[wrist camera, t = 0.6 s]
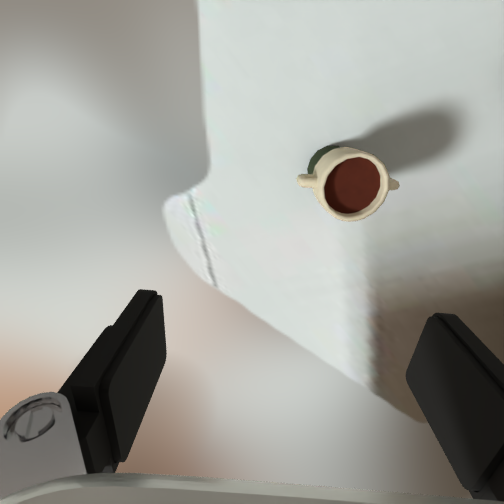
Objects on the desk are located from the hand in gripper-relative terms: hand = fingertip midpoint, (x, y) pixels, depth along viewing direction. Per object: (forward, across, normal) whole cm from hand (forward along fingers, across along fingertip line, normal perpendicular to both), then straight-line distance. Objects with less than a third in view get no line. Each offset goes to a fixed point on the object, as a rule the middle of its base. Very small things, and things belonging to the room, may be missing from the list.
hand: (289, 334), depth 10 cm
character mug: (+35, -8, -1) cm, 36 cm away
